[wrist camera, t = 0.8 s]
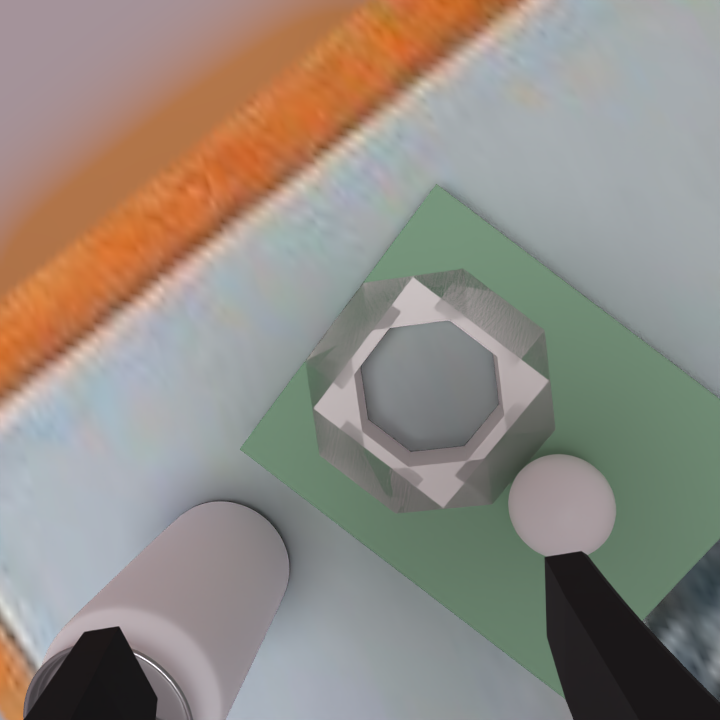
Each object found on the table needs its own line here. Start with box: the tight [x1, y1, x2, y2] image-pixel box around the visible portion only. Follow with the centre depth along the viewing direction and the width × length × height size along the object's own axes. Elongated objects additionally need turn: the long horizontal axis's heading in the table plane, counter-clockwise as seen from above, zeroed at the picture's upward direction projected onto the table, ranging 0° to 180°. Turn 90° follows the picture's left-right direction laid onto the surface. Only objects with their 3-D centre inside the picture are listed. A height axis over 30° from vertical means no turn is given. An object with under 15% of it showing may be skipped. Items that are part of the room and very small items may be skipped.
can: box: [23, 501, 289, 720], centre depth 26 cm, size 6×6×12 cm
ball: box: [508, 454, 616, 556], centre depth 26 cm, size 4×4×4 cm
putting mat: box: [240, 184, 720, 699], centre depth 29 cm, size 18×14×2 cm
